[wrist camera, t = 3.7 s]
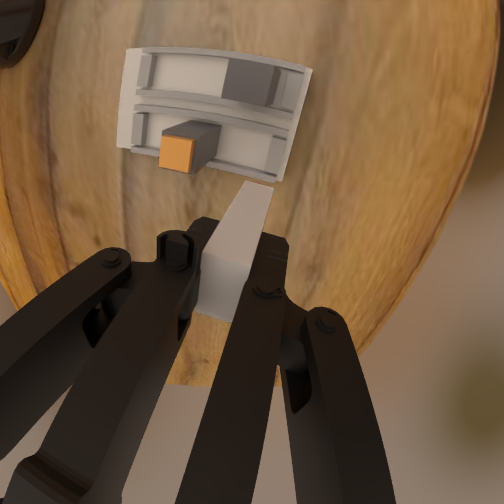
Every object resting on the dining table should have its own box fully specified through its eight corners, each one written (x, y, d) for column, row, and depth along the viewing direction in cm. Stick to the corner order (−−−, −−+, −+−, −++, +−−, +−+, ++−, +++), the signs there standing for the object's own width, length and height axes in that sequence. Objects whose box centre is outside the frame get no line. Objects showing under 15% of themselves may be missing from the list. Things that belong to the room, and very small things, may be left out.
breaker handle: (186, 149, 24) (154, 169, 19) (190, 119, 22) (158, 131, 17) (216, 155, 24) (191, 177, 19) (221, 125, 22) (196, 137, 17)
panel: (126, 142, 27) (80, 164, 20) (137, 49, 20) (88, 46, 14) (283, 175, 26) (276, 208, 20) (311, 71, 20) (317, 61, 13)
